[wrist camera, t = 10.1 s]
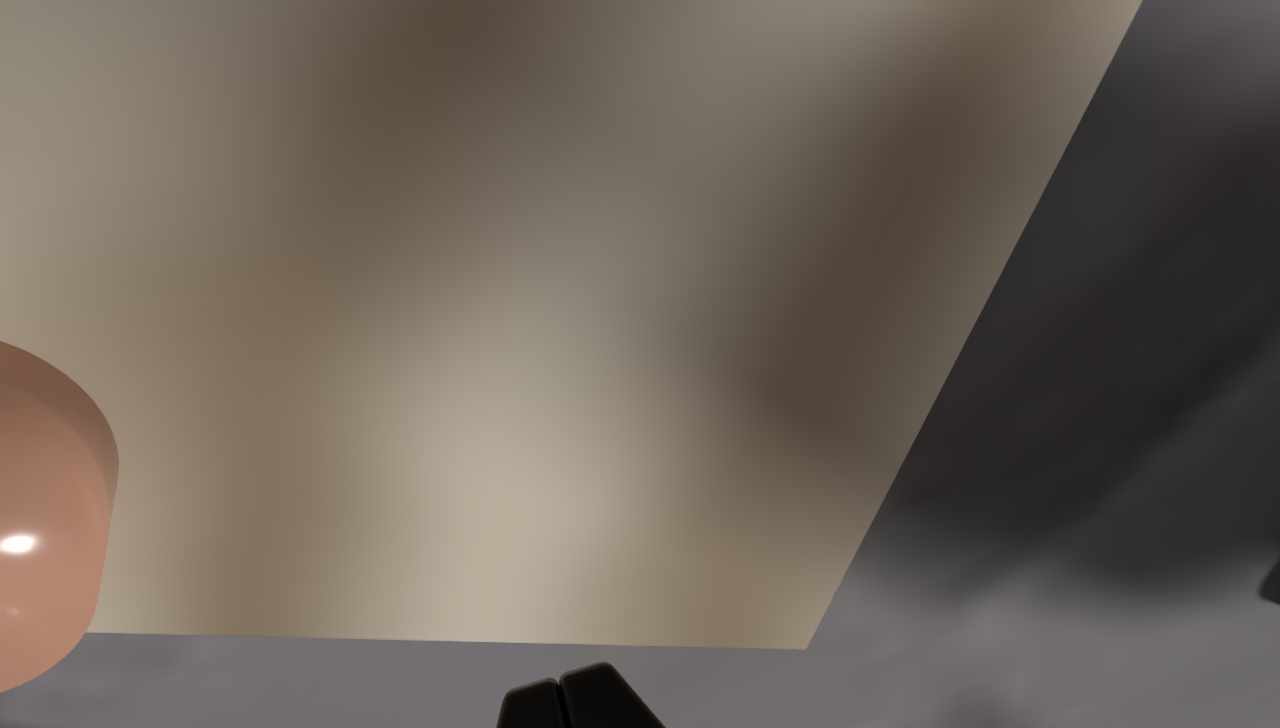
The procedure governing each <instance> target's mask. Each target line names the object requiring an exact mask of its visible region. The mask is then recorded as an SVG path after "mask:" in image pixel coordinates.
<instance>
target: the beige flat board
mask: <svg viewBox="0 0 1280 728" xmlns="http://www.w3.org/2000/svg"><path fill="white" fill-rule="evenodd" d="M1142 1H1143V0H0V342H3V343H6V344H9V345H11V346H14V347H16V348H19V349H22V350H24V351H26V352H28V353H30V354H32V355H34V356H36V357H38V358H40V359H42V360H44V361H46V362H48V363H49V364H51V365H52V366H54V367H55V368H57V369H58V370H60V371H61V372H63V373H64V374H66V375H67V376H68V377H69V378H70V379H72V380H73V381H74V382H75V383H77V384H78V385H79V386H80V387H81V388H82V389H83V390H84V391H85V392H86V393H87V394H88V395H89V396H90V397H91V398H92V400H93V401H94V402H95V403H96V405H97V406H98V408H99V409H100V410H101V412H102V413H103V415H104V416H105V418H106V420H107V422H108V424H109V426H110V428H111V430H112V432H113V435H114V439H115V442H116V445H117V450H118V458H119V474H118V482H117V488H116V494H115V500H114V506H113V512H112V519H111V525H110V531H109V537H108V543H107V549H106V555H105V561H104V567H103V573H102V579H101V585H100V591H99V597H98V601H97V606H96V610H95V614H94V616H93V618H92V620H91V623H90V625H89V627H88V629H87V631H86V632H95V633H137V634H178V635H220V636H262V637H304V638H345V639H387V640H429V641H471V642H513V643H554V644H596V645H638V646H680V647H721V648H763V649H805V650H806V648H807V647H808V645H809V643H810V641H811V639H812V637H813V635H814V633H815V631H816V629H817V627H818V625H819V623H820V621H821V620H822V618H823V616H824V614H825V612H826V610H827V608H828V606H829V604H830V602H831V600H832V598H833V596H834V594H835V593H836V591H837V589H838V587H839V585H840V583H841V581H842V579H843V577H844V575H845V573H846V571H847V569H848V568H849V566H850V564H851V562H852V560H853V558H854V556H855V554H856V552H857V550H858V548H859V546H860V544H861V542H862V541H863V539H864V537H865V535H866V533H867V531H868V529H869V527H870V525H871V523H872V521H873V519H874V517H875V515H876V514H877V512H878V510H879V508H880V506H881V504H882V502H883V500H884V498H885V496H886V494H887V492H888V490H889V488H890V487H891V485H892V483H893V481H894V479H895V477H896V475H897V473H898V471H899V469H900V467H901V465H902V463H903V461H904V460H905V458H906V456H907V454H908V452H909V450H910V448H911V446H912V444H913V442H914V440H915V438H916V436H917V434H918V433H919V431H920V429H921V427H922V425H923V423H924V421H925V419H926V417H927V415H928V413H929V411H930V409H931V408H932V406H933V404H934V402H935V400H936V398H937V396H938V394H939V392H940V390H941V388H942V386H943V384H944V382H945V381H946V379H947V377H948V375H949V373H950V371H951V369H952V367H953V365H954V363H955V361H956V359H957V357H958V355H959V354H960V352H961V350H962V348H963V346H964V344H965V342H966V340H967V338H968V336H969V334H970V332H971V330H972V328H973V327H974V325H975V323H976V321H977V319H978V317H979V315H980V313H981V311H982V309H983V307H984V305H985V303H986V301H987V300H988V298H989V296H990V294H991V292H992V290H993V288H994V286H995V284H996V282H997V280H998V278H999V276H1000V274H1001V273H1002V271H1003V269H1004V267H1005V265H1006V263H1007V261H1008V259H1009V257H1010V255H1011V253H1012V251H1013V249H1014V247H1015V246H1016V244H1017V242H1018V240H1019V238H1020V236H1021V234H1022V232H1023V230H1024V228H1025V226H1026V224H1027V222H1028V221H1029V219H1030V217H1031V215H1032V213H1033V211H1034V209H1035V207H1036V205H1037V203H1038V201H1039V199H1040V197H1041V195H1042V194H1043V192H1044V190H1045V188H1046V186H1047V184H1048V182H1049V180H1050V178H1051V176H1052V174H1053V172H1054V170H1055V168H1056V167H1057V165H1058V163H1059V161H1060V159H1061V157H1062V155H1063V153H1064V151H1065V149H1066V147H1067V145H1068V143H1069V141H1070V140H1071V138H1072V136H1073V134H1074V132H1075V130H1076V128H1077V126H1078V124H1079V122H1080V120H1081V118H1082V116H1083V114H1084V113H1085V111H1086V109H1087V107H1088V105H1089V103H1090V101H1091V99H1092V97H1093V95H1094V93H1095V91H1096V89H1097V87H1098V86H1099V84H1100V82H1101V80H1102V78H1103V76H1104V74H1105V72H1106V70H1107V68H1108V66H1109V64H1110V62H1111V61H1112V59H1113V57H1114V55H1115V53H1116V51H1117V49H1118V47H1119V45H1120V43H1121V41H1122V39H1123V37H1124V35H1125V34H1126V32H1127V30H1128V28H1129V26H1130V24H1131V22H1132V20H1133V18H1134V16H1135V14H1136V12H1137V10H1138V8H1139V7H1140V5H1141V3H1142Z"/></svg>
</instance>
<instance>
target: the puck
mask: <svg viewBox="0 0 1280 728" xmlns="http://www.w3.org/2000/svg"><path fill="white" fill-rule="evenodd" d="M118 474H119V458H118V450H117V445H116V442H115V439H114V435H113V432H112V430H111V428H110V426H109V424H108V422H107V420H106V418H105V416H104V415H103V413H102V412H101V410H100V409H99V408H98V406H97V405H96V403H95V402H94V401H93V400H92V398H91V397H90V396H89V395H88V394H87V393H86V392H85V391H84V390H83V389H82V388H81V387H80V386H79V385H78V384H77V383H75V382H74V381H73V380H72V379H70V378H69V377H68V376H67V375H66V374H64V373H63V372H61V371H60V370H58V369H57V368H55V367H54V366H52V365H51V364H49V363H48V362H46V361H44V360H42V359H40V358H38V357H36V356H34V355H32V354H30V353H28V352H26V351H24V350H22V349H19V348H16V347H14V346H11V345H9V344H6V343H3V342H0V693H1V692H4V691H6V690H9V689H12V688H15V687H17V686H19V685H21V684H23V683H25V682H27V681H29V680H32V679H34V678H35V677H37V676H39V675H40V674H42V673H43V672H45V671H47V670H48V669H50V668H51V667H53V666H54V665H55V664H56V663H58V662H59V661H60V660H61V659H63V658H64V657H65V656H66V655H67V654H68V653H69V652H70V651H71V650H72V649H73V648H74V647H75V646H76V645H77V643H78V642H79V641H80V639H81V638H82V636H83V635H84V633H85V632H86V631H87V629H88V627H89V625H90V623H91V620H92V618H93V616H94V614H95V610H96V606H97V601H98V597H99V591H100V585H101V579H102V573H103V567H104V561H105V555H106V549H107V543H108V537H109V531H110V525H111V519H112V512H113V506H114V500H115V494H116V488H117V482H118Z"/></svg>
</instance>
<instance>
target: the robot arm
mask: <svg viewBox="0 0 1280 728" xmlns="http://www.w3.org/2000/svg"><path fill="white" fill-rule="evenodd" d="M559 685H560V686H559ZM496 728H665V726H664V725H663V724H662V723H661V722H660V721H659V719H658V718H657V717H656V716H655V715H654V713H653V712H652V711H651V710H650V709H649V708H648V706H647V705H646V704H645V703H644V702H643V701H642V699H641V698H640V697H639V696H638V695H637V694H636V692H635V691H634V690H633V689H632V688H631V687H630V685H629V684H628V683H627V682H626V681H625V679H624V678H623V677H622V676H621V675H620V674H619V672H618V671H617V670H616V669H615V668H614V667H613V666H612V665H611V664H609V663H607V662H604V661H601V662H597V663H593V664H590V665H587V666H584V667H580V668H577V669H574V670H571V671H567V672H565V673H564V674H563V675H562V676H561V677H560V680H559V684H558V682H557V681H556V680H555V679H553V678H545V679H541V680H538V681H535V682H532V683H528V684H525V685H522V686H519V687H515V688H513V689H511V690H509V691H508V692H507V693H506V695H505V697H504V699H503V702H502V706H501V710H500V714H499V719H498V723H497V727H496Z"/></svg>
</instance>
